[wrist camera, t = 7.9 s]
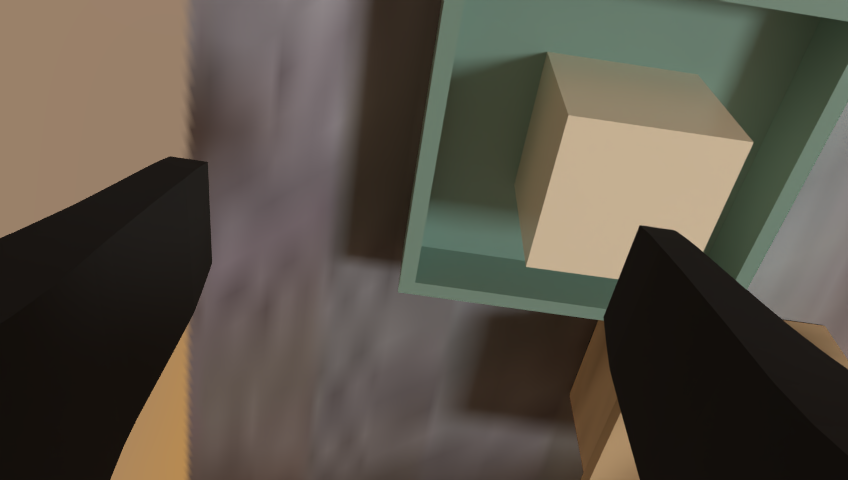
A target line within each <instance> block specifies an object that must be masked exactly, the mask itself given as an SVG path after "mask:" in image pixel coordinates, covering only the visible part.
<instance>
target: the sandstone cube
mask: <svg viewBox="0 0 848 480" xmlns="http://www.w3.org/2000/svg"><path fill="white" fill-rule="evenodd" d="M753 143H754V142H753V141H752V140H751V138H750V137H749V136H748V135H747V134H746V132H745V131H744V130H743V129H742V128H741V126H740V125H739V124H738V123H737V121H736V120H735V119H734V118H733V117H732V115H731V114H730V113H729V112H728V111H727V109H726V108H725V107H724V106H723V104H722V103H721V102H720V101H719V100H718V98H717V97H716V96H715V95H714V94H713V92H712V91H711V90H710V89H709V87H708V86H707V85H706V84H705V83H704V81H703V80H702V79H701V78H700V77H699V75H698V74H692V73H685V72H679V71H672V70H665V69H659V68H652V67H645V66H639V65H632V64H625V63H619V62H612V61H606V60H599V59H592V58H586V57H579V56H572V55H566V54H559V53H552V52H547V54H546V58H545V63H544V67H543V71H542V75H541V79H540V83H539V87H538V91H537V95H536V99H535V103H534V107H533V111H532V115H531V119H530V123H529V127H528V131H527V136H526V140H525V144H524V148H523V152H522V156H521V160H520V164H519V168H518V172H517V176H516V180H515V184H514V187H515V194H516V201H517V208H518V215H519V222H520V229H521V236H522V243H523V250H524V257H525V264H526V267H531V268H538V269H546V270H553V271H560V272H568V273H575V274H582V275H590V276H597V277H605V278H612V279H619V276H620V274H621V271H622V269H623V266H624V264H625V261H626V258H627V256H628V253H629V251H630V248H631V246H632V243H633V241H634V238H635V236H636V233H637V230H638V228H639V225H642V226H649V227H656V228H663V229H670V230H675V231H677V232H678V233H680V234H681V235H683V236H684V237H685V238H687V239H688V240H689V241H690V242H692V243H693V244H694V245H695V246H697V247H698V248H699V249H700V250H701V251H704V249H705V247H706V245H707V243H708V240H709V238H710V236H711V234H712V232H713V230H714V227H715V225H716V223H717V221H718V219H719V217H720V214H721V212H722V210H723V208H724V206H725V204H726V201H727V199H728V197H729V195H730V193H731V190H732V188H733V186H734V184H735V182H736V180H737V177H738V175H739V173H740V171H741V169H742V167H743V164H744V162H745V160H746V158H747V156H748V154H749V151H750V149H751V147H752V145H753Z"/></svg>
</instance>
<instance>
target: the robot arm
mask: <svg viewBox="0 0 848 480" xmlns="http://www.w3.org/2000/svg"><path fill="white" fill-rule="evenodd" d="M211 264H212V251H211V228H210V205H209V182H208V162H204V161H197V160H191V159H184V158H176V157H168V158H165V159H163V160H160V161H158V162H156V163H154V164H152V165H150V166H148V167H146V168H144V169H142V170H140V171H138V172H136V173H134V174H132V175H131V176H129V177H127V178H125V179H123V180H121V181H119V182H117V183H116V184H113V185H111V186H110V187H108V188H106V189H104V190H102V191H100V192H98V193H96V194H94V195H92V196H90V197H88V198H86V199H84V200H82V201H80V202H79V203H76V204H74V205H73V206H70V207H68V208H66V209H64V210H62V211H59V212H57V213H55V214H53V215H51V216H49V217H47V218H44V219H42V220H40V221H38V222H35V223H33V224H31V225H29V226H27V227H25V228H22V229H20V230H18V231H16V232H14V233H11V234H9V235H6V236H4V237H2V238H0V480H110V479H111V476H112V474H113V471H114V469H115V466H116V464H117V461H118V459H119V456H120V454H121V451H122V449H123V447H124V444H125V442H126V440H127V438H128V436H129V434H130V432H131V430H132V428H133V426H134V424H135V421H136V420H137V418H138V416H139V414H140V412H141V410H142V409H143V406H144V405H145V403H146V401H147V399H148V397H149V396H150V394H151V392H152V390H153V388H154V386H155V385H156V383H157V381H158V379H159V377H160V375H161V373H162V371H163V370H164V368H165V366H166V364H167V362H168V360H169V359H170V357H171V355H172V353H173V351H174V349H175V348H176V345H177V344H178V342H179V340H180V338H181V336H182V334H183V333H184V331H185V329H186V327H187V325H188V323H189V321H190V319H191V317H192V315H193V313H194V311H195V309H196V306H197V303H198V301H199V298H200V295H201V293H202V290H203V287H204V284H205V281H206V279H207V276H208V273H209V270H210V267H211ZM603 318H604V328H605V337H606V347H607V354H608V361H609V368H610V372H611V376H612V380H613V384H614V388H615V392H616V395H617V399H618V403H619V407H620V410H621V414H622V418H623V421H624V425H625V428H626V432H627V436H628V439H629V443H630V446H631V450H632V454H633V457H634V461H635V464H636V468H637V472H638V475H639V479H640V480H848V369H847V368H846V367H844V366H843V365H841V364H840V363H838V362H837V361H836V360H834V359H833V358H832V357H830V356H829V355H827V354H826V353H825V352H823V351H822V350H821V349H819V348H818V347H817V346H815V345H814V344H813V343H812V342H810V341H809V340H808V339H806V338H805V337H804V336H802V335H801V334H800V333H799V332H797V331H796V330H795V329H793V328H792V327H791V326H790V325H788V324H787V323H786V322H785V321H783V320H782V319H781V318H780V317H778V316H777V315H776V314H775V313H774V312H772V311H771V310H770V309H769V308H768V307H766V306H765V305H764V304H763V303H762V302H760V301H759V300H758V299H757V298H756V297H755V296H753V295H752V294H751V293H750V292H749V291H748V290H746V289H745V288H744V287H743V286H742V285H741V284H739V283H738V282H737V281H736V280H735V279H734V278H733V277H731V276H730V275H729V274H728V273H727V272H726V271H725V270H723V269H722V268H721V267H720V266H719V265H718V264H717V263H715V262H714V261H713V260H712V259H711V258H710V257H708V256H707V255H706V254H705V253H704V252H703V251H701V250H700V249H699V248H698V247H697V246H695V245H694V244H693V243H692V242H690V241H689V240H688V239H687V238H685V237H684V236H683V235H681V234H680V233H678V232H677V231H675V230H670V229H663V228H656V227H649V226H642V225H639V228H638V230H637V233H636V236H635V238H634V241H633V243H632V246H631V248H630V251H629V253H628V256H627V258H626V261H625V264H624V266H623V269H622V271H621V274H620V276H619V279H618V281H617V284H616V286H615V289H614V292H613V294H612V297H611V299H610V302H609V304H608V307H607V309H606V312H605V314H604V317H603Z"/></svg>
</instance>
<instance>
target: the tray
mask: <svg viewBox="0 0 848 480" xmlns="http://www.w3.org/2000/svg"><path fill="white" fill-rule="evenodd" d="M547 52H552V53H559V54H566V55H572V56H579V57H586V58H592V59H599V60H606V61H612V62H619V63H625V64H632V65H639V66H645V67H652V68H659V69H665V70H672V71H679V72H685V73H692V74H698V75H699V77H700V78H701V79H702V80H703V81H704V83H705V84H706V85H707V86H708V87H709V89H710V90H711V91H712V92H713V94H714V95H715V96H716V97H717V98H718V100H719V101H720V102H721V103H722V104H723V106H724V107H725V108H726V109H727V111H728V112H729V113H730V114H731V115H732V117H733V118H734V119H735V120H736V121H737V123H738V124H739V125H740V126H741V128H742V129H743V130H744V131H745V132H746V134H747V135H748V136H749V137H750V138H751V140H752V141H753V142H754V143H753V145H752V147H751V149H750V151H749V154H748V156H747V158H746V160H745V162H744V164H743V167H742V169H741V171H740V173H739V175H738V177H737V180H736V182H735V184H734V186H733V188H732V190H731V193H730V195H729V197H728V199H727V201H726V204H725V206H724V208H723V210H722V212H721V214H720V217H719V219H718V221H717V223H716V225H715V227H714V230H713V232H712V234H711V236H710V238H709V240H708V243H707V245H706V247H705V249H704V251H703V252H704V253H705V254H706V255H707V256H708V257H710V258H711V259H712V260H713V261H714V262H715V263H717V264H718V265H719V266H720V267H721V268H722V269H723V270H725V271H726V272H727V273H728V274H729V275H730V276H731V277H733V278H734V279H735V280H736V281H737V282H738V283H739V284H741V285H742V286H743V287H744V288H745V289H746V290H747V288H748V287H749V285H750V283H751V281H752V279H753V277H754V275H755V274H756V272H757V270H758V268H759V266H760V264H761V262H762V261H763V259H764V257H765V255H766V253H767V251H768V249H769V248H770V246H771V244H772V242H773V240H774V238H775V236H776V234H777V233H778V231H779V229H780V227H781V225H782V223H783V221H784V220H785V218H786V216H787V214H788V212H789V210H790V208H791V207H792V205H793V203H794V201H795V199H796V197H797V195H798V193H799V192H800V190H801V188H802V186H803V184H804V182H805V180H806V179H807V177H808V175H809V173H810V171H811V169H812V167H813V166H814V164H815V162H816V160H817V158H818V156H819V154H820V153H821V151H822V149H823V147H824V145H825V143H826V141H827V139H828V138H829V136H830V134H831V132H832V130H833V128H834V126H835V125H836V123H837V121H838V119H839V117H840V115H841V113H842V112H843V110H844V108H845V106H846V104H847V102H848V0H442V2H441V9H440V15H439V21H438V28H437V34H436V41H435V47H434V53H433V60H432V66H431V73H430V79H429V85H428V92H427V98H426V105H425V111H424V117H423V124H422V130H421V137H420V143H419V149H418V156H417V162H416V169H415V175H414V182H413V188H412V194H411V201H410V207H409V214H408V220H407V226H406V233H405V239H404V246H403V253H402V262H401V271H400V279H399V288H398V292H400V293H407V294H414V295H422V296H429V297H436V298H443V299H450V300H458V301H465V302H472V303H479V304H486V305H494V306H501V307H508V308H515V309H523V310H530V311H537V312H544V313H551V314H559V315H566V316H573V317H580V318H587V319H595V320H602V321H604V318H603V317H604V314H605V312H606V309H607V307H608V304H609V302H610V299H611V297H612V294H613V292H614V289H615V286H616V284H617V281H618V279H612V278H605V277H597V276H590V275H582V274H575V273H568V272H560V271H553V270H546V269H538V268H531V267H526V264H525V257H524V250H523V243H522V236H521V229H520V222H519V215H518V208H517V201H516V194H515V187H514V184H515V180H516V176H517V172H518V168H519V164H520V160H521V156H522V152H523V148H524V144H525V140H526V136H527V131H528V127H529V123H530V119H531V115H532V111H533V107H534V103H535V99H536V95H537V91H538V87H539V83H540V79H541V75H542V71H543V67H544V63H545V58H546V54H547Z"/></svg>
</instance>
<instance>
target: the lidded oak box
mask: <svg viewBox="0 0 848 480" xmlns="http://www.w3.org/2000/svg"><path fill="white" fill-rule="evenodd" d="M783 321H785V322H786V323H787V324H788V325H790V326H791V327H792V328H793V329H795V330H796V331H797V332H799V333H800V334H801V335H802V336H804V337H805V338H806V339H808V340H809V341H810V342H812V343H813V344H814V345H815V346H817V347H818V348H819V349H821V350H822V351H823V352H825V353H826V354H827V355H829V356H830V357H832V358H833V359H834V360H836V361H837V362H838V363H840V364H841V365H843V366H844V367H846V368H847V369H848V360H847V358H846V357H845V355H844V354H843V352H842V351H841V349H840V348H839V346H838V345H837V343H836V342H835V341H834V339H833V338H832V336H831V335H830V333H829V332H828V330H827V329H826V327H825V326H822V325H815V324H808V323H801V322H793V321H786V320H783ZM569 396H570V401H571V406H572V412H573V417H574V423H575V428H576V434H577V439H578V444H579V450H580V455H581V461H582V466H583V472H584V473H583V475H582V477H581V479H580V480H640V479H639V475H638V472H637V468H636V464H635V461H634V457H633V454H632V450H631V446H630V443H629V439H628V436H627V432H626V428H625V425H624V421H623V418H622V414H621V410H620V407H619V403H618V399H617V395H616V392H615V388H614V384H613V380H612V376H611V372H610V368H609V361H608V354H607V347H606V337H605V328H604V321H602V320H598V322H597V325H596V327H595V330H594V332H593V335H592V338H591V340H590V343H589V345H588V348H587V350H586V353H585V356H584V358H583V361H582V363H581V366H580V369H579V371H578V374H577V376H576V379H575V381H574V384H573V387H572V389H571V392H570V394H569Z"/></svg>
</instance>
